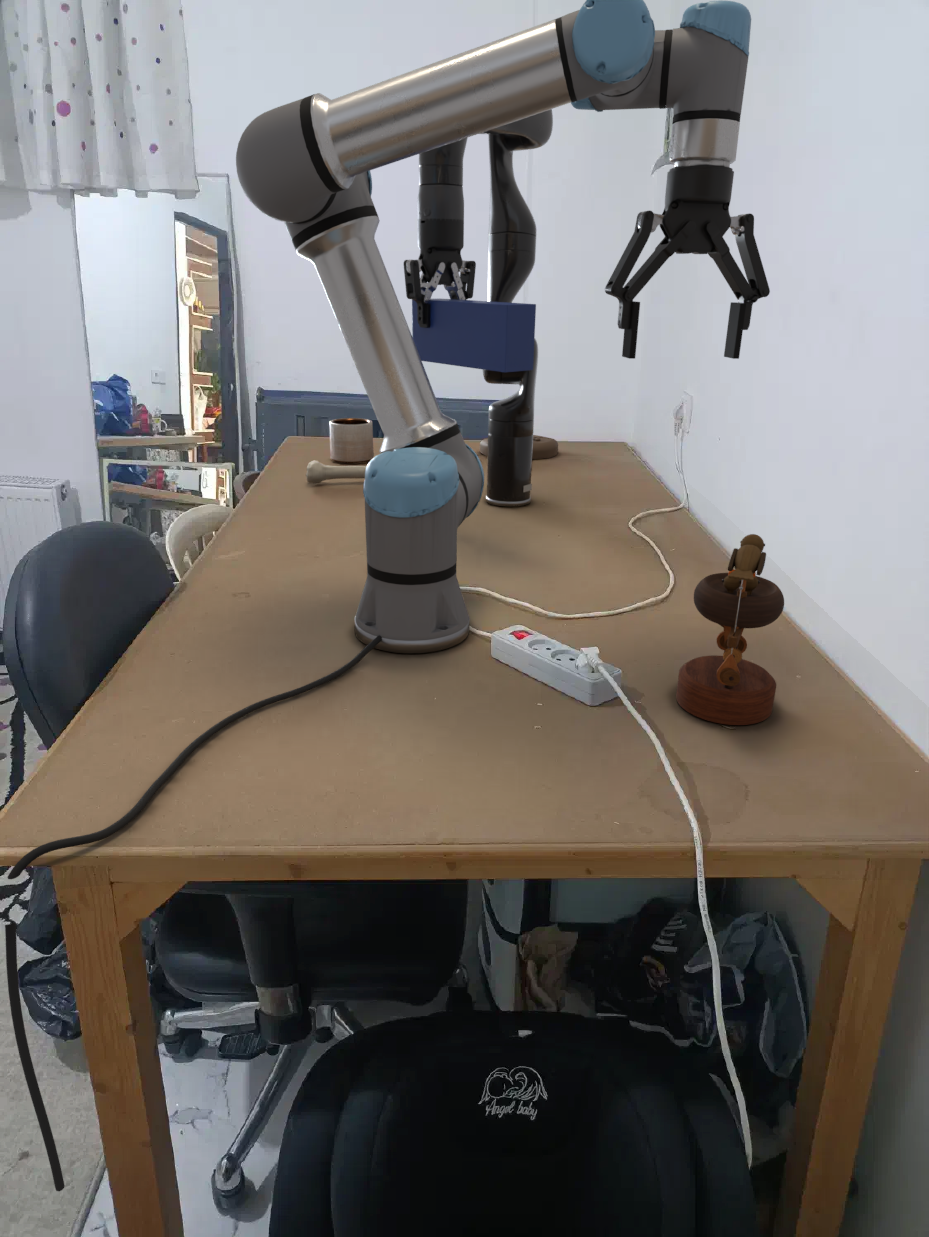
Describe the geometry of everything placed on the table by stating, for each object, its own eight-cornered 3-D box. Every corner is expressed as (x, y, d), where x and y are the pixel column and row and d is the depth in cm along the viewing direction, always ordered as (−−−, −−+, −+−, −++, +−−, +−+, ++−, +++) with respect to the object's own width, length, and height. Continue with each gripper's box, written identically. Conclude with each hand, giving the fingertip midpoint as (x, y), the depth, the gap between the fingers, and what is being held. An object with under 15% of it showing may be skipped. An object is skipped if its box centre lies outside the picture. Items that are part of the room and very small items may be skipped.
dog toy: (395, 478, 195) (394, 456, 193) (397, 484, 190) (397, 462, 188) (306, 480, 192) (305, 458, 190) (306, 486, 187) (305, 464, 185)
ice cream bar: (484, 468, 207) (485, 451, 205) (477, 446, 232) (478, 431, 231) (570, 469, 208) (571, 452, 206) (554, 447, 233) (554, 431, 232)
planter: (327, 456, 217) (325, 418, 214) (369, 454, 220) (368, 417, 217) (334, 465, 208) (332, 425, 204) (377, 463, 211) (376, 424, 207)
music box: (791, 736, 88) (807, 553, 81) (683, 736, 90) (689, 557, 82) (760, 672, 102) (771, 512, 95) (667, 673, 104) (671, 515, 96)
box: (533, 370, 134) (536, 304, 130) (505, 372, 130) (507, 304, 126) (439, 357, 150) (440, 298, 146) (412, 359, 146) (411, 299, 142)
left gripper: (784, 173, 103) (759, 355, 111) (587, 166, 99) (575, 354, 107) (817, 167, 96) (787, 360, 104) (607, 159, 93) (593, 360, 101)
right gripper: (458, 220, 144) (457, 324, 150) (391, 216, 135) (393, 327, 141) (488, 219, 138) (486, 326, 145) (420, 215, 130) (421, 329, 136)
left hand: (680, 358), depth 106 cm, fingers open, 13 cm apart
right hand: (440, 326), depth 143 cm, fingers closed on box, 6 cm apart
